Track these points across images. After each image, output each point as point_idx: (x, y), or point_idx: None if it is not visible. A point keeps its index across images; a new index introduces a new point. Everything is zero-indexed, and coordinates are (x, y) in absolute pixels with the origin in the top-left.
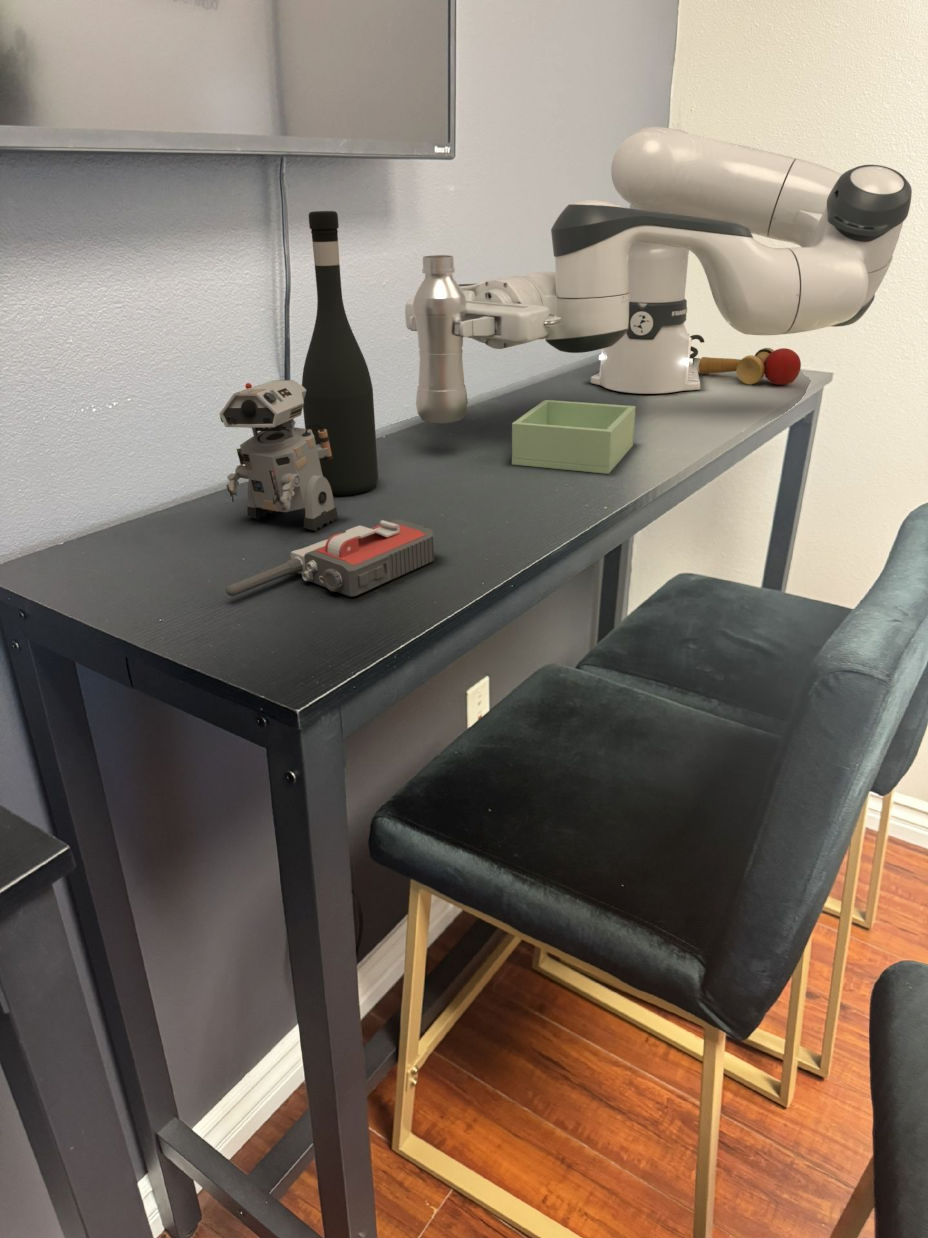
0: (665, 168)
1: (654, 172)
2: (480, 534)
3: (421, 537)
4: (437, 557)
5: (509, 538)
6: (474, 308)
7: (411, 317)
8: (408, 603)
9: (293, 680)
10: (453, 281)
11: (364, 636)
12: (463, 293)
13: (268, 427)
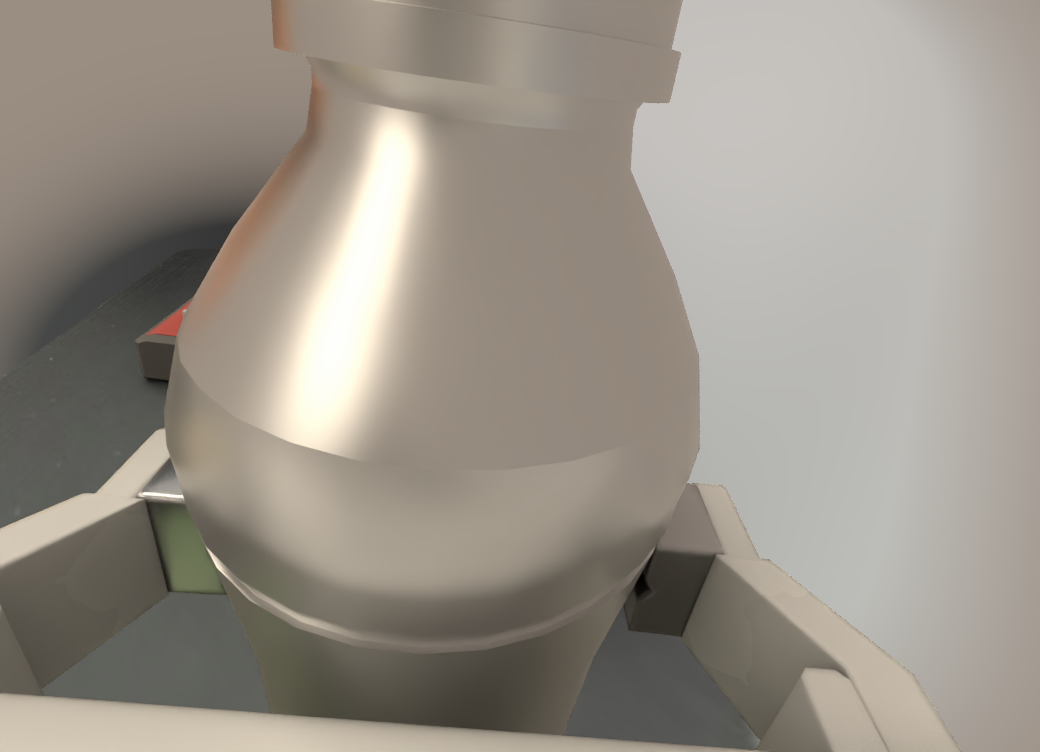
0: None
1: None
2: (77, 454)
3: (150, 331)
4: (142, 386)
5: (8, 458)
6: (103, 727)
7: (707, 486)
8: (146, 320)
9: (205, 257)
10: (283, 162)
11: (172, 287)
12: (191, 344)
13: None
